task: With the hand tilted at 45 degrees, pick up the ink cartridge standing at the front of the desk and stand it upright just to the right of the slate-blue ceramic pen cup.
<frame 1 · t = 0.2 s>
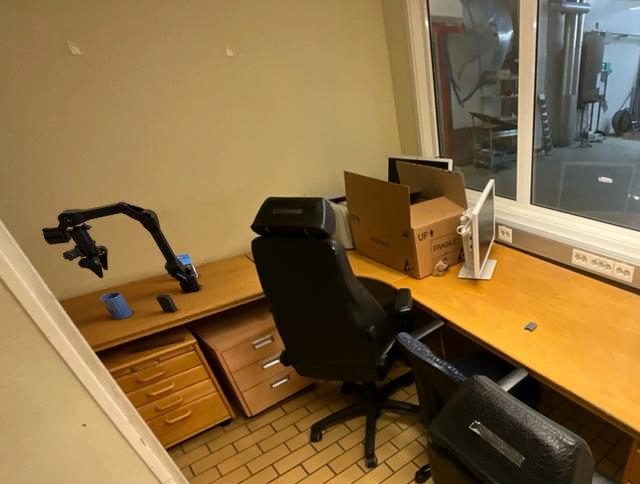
hand: (104, 273, 177), 15 cm above the table, tool pointing down, fingers open, 9 cm apart
pen cup: (122, 315, 176), on the table
ink cartridge: (171, 311, 180), on the table
tape cartridge: (188, 278, 207), on the table
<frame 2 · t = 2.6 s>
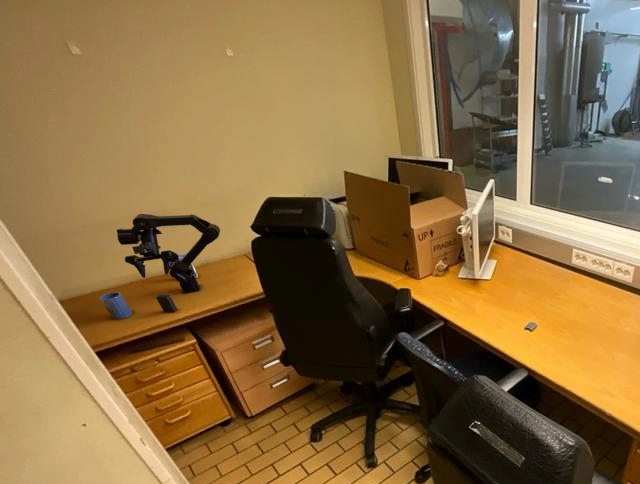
hand: (155, 276, 177), 14 cm above the table, tool tilted 40°, fingers open, 9 cm apart
nothing on the table moved.
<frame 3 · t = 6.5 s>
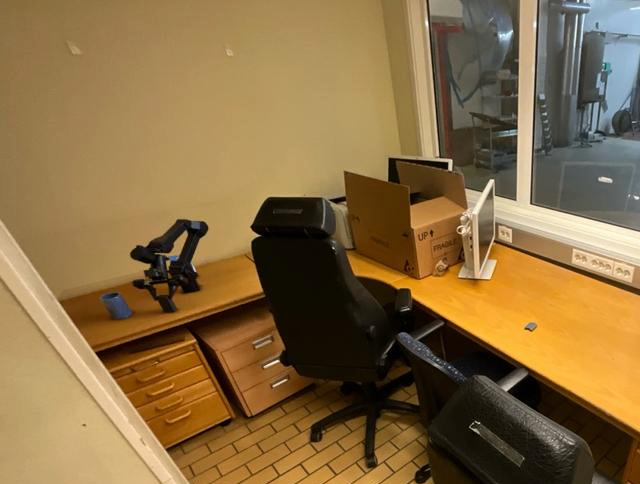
hand: (163, 299, 175), 7 cm above the table, tool tilted 45°, fingers closed on ink cartridge, 5 cm apart
ink cartridge: (171, 311, 180), on the table, touching gripper
everything else where it was.
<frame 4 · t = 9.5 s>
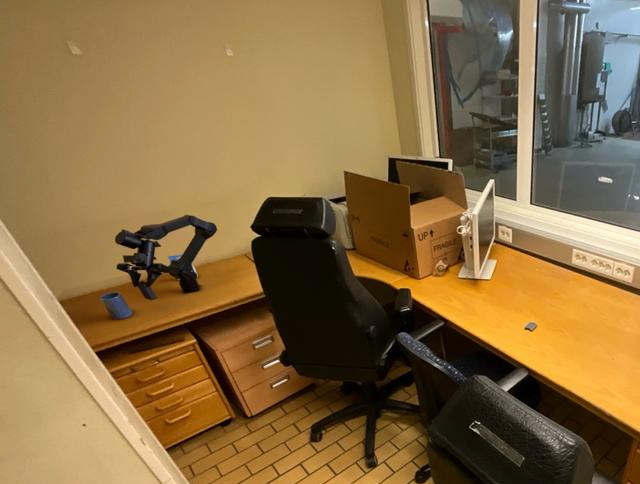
hand: (141, 286, 171), 13 cm above the table, tool tilted 45°, fingers closed on ink cartridge, 5 cm apart
ink cartridge: (151, 298, 176), point 6 cm above the table, touching gripper
everything else where it was.
when the fingers open (7 cm above the table, at t = 12.8 s): ink cartridge stays where it is, on the table.
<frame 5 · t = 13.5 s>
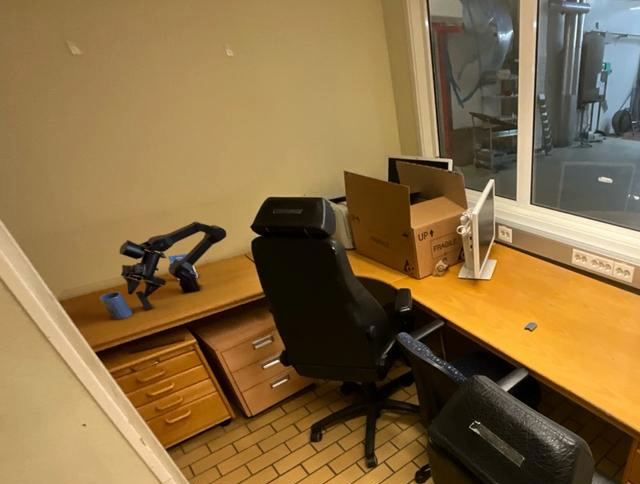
hand: (137, 295, 176), 7 cm above the table, tool tilted 45°, fingers open, 9 cm apart
ink cartridge: (149, 308, 181), on the table
everything else where it was.
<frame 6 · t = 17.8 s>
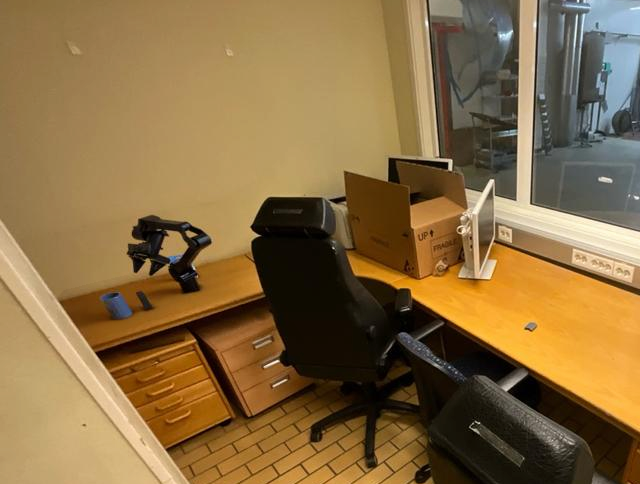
hand: (142, 274, 179), 14 cm above the table, tool tilted 45°, fingers open, 9 cm apart
nothing on the table moved.
at the end: ink cartridge inside the target area on the table beside the pen cup (0.3 cm from its centre), on the table; ink cartridge tilted 0°; the gripper is holding nothing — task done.
